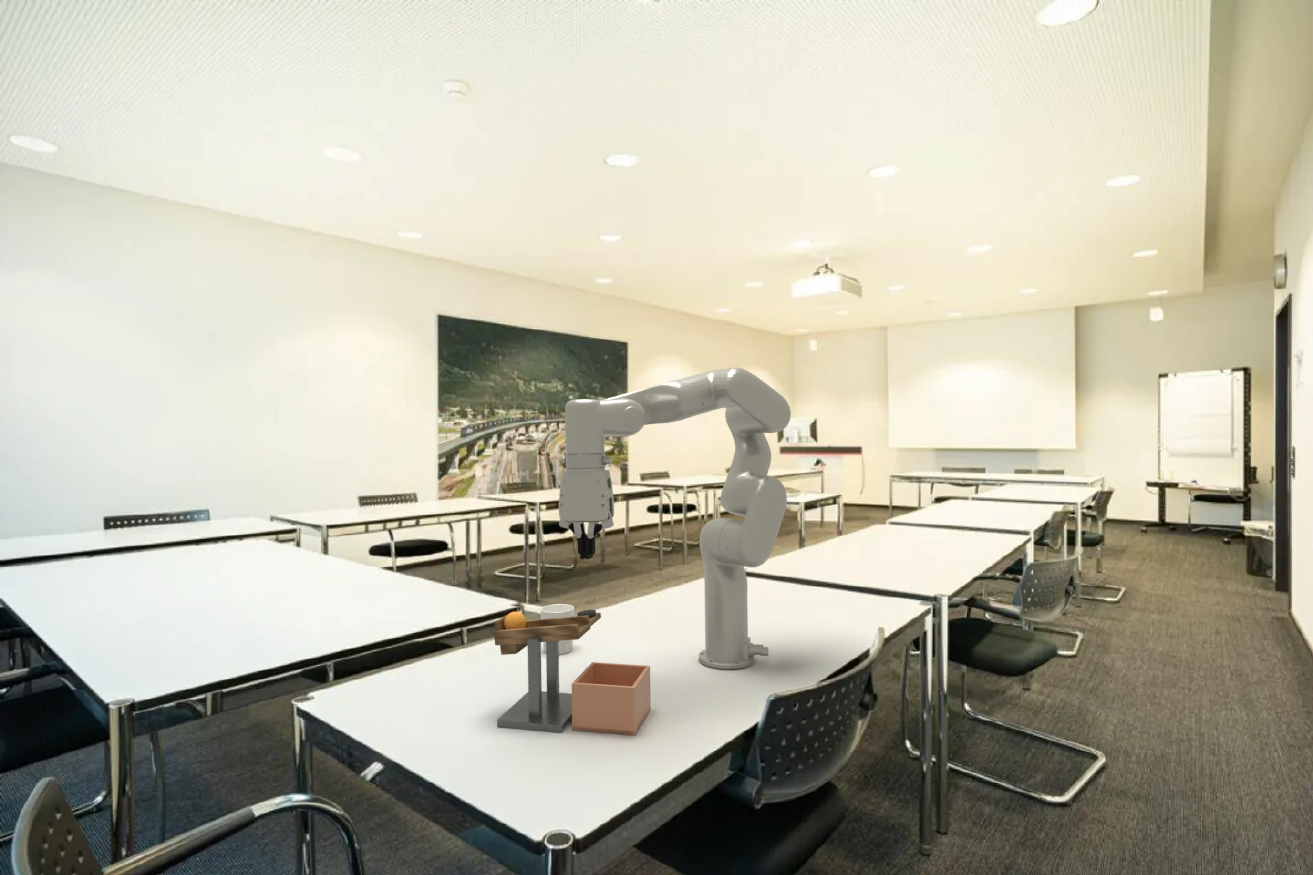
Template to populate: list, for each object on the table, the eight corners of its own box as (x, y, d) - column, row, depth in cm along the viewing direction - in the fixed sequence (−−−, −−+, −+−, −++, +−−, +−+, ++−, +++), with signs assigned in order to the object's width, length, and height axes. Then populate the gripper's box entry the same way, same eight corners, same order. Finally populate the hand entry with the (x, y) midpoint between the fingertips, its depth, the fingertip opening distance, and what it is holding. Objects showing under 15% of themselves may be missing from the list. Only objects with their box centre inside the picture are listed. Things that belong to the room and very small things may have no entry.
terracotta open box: (650, 708, 126) (650, 665, 126) (635, 735, 115) (634, 687, 115) (592, 704, 129) (592, 662, 129) (572, 729, 118) (571, 683, 118)
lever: (604, 627, 134) (600, 596, 134) (579, 650, 120) (575, 616, 120) (529, 633, 138) (525, 603, 138) (496, 656, 124) (492, 623, 124)
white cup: (568, 656, 157) (567, 613, 157) (536, 654, 159) (535, 611, 158) (579, 645, 165) (578, 604, 165) (548, 644, 166) (547, 603, 166)
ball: (531, 628, 128) (527, 607, 128) (522, 634, 124) (518, 612, 124) (512, 632, 129) (507, 611, 129) (502, 638, 125) (498, 616, 125)
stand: (588, 701, 131) (587, 622, 130) (561, 732, 117) (560, 644, 117) (529, 696, 133) (528, 619, 133) (497, 726, 120) (495, 641, 120)
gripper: (627, 462, 134) (629, 555, 134) (556, 462, 138) (557, 553, 138) (617, 463, 127) (618, 562, 127) (541, 464, 130) (542, 560, 130)
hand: (586, 557), depth 132 cm, fingers closed
